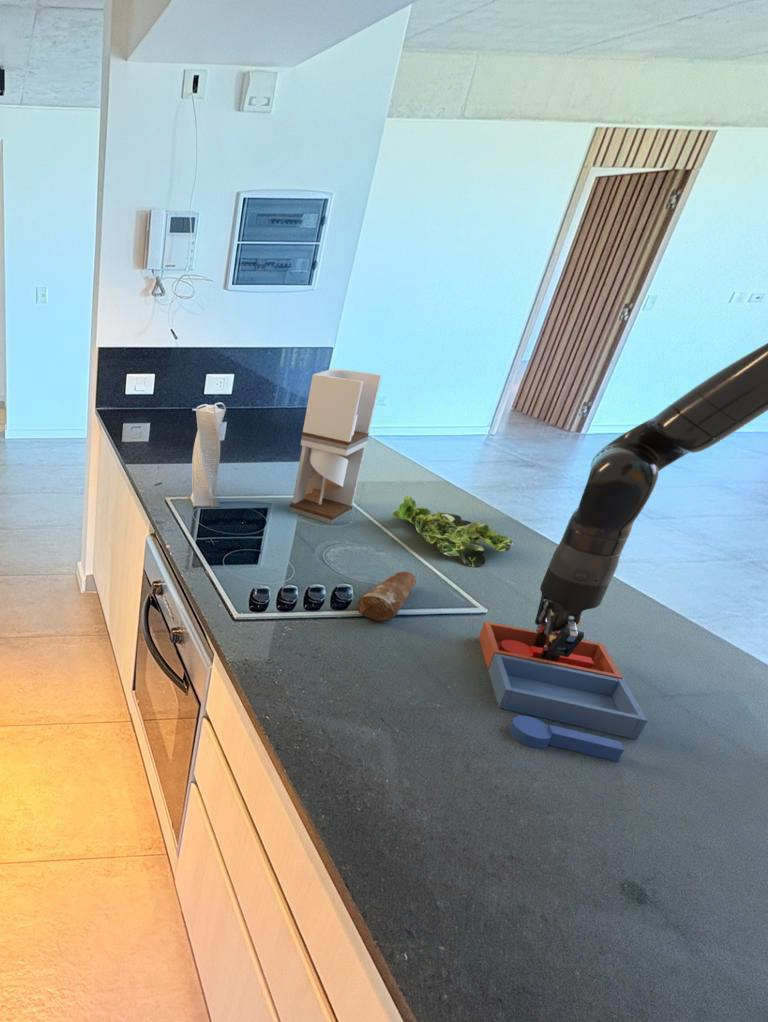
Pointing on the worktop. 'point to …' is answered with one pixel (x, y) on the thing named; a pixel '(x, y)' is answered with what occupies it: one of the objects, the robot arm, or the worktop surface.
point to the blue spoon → (563, 738)
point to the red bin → (498, 633)
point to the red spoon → (535, 652)
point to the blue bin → (566, 696)
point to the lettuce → (453, 533)
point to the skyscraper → (206, 456)
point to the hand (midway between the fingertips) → (541, 661)
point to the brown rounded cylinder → (387, 597)
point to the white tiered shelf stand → (334, 442)
